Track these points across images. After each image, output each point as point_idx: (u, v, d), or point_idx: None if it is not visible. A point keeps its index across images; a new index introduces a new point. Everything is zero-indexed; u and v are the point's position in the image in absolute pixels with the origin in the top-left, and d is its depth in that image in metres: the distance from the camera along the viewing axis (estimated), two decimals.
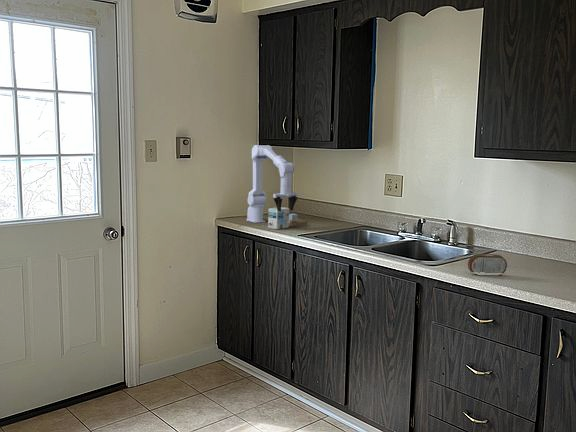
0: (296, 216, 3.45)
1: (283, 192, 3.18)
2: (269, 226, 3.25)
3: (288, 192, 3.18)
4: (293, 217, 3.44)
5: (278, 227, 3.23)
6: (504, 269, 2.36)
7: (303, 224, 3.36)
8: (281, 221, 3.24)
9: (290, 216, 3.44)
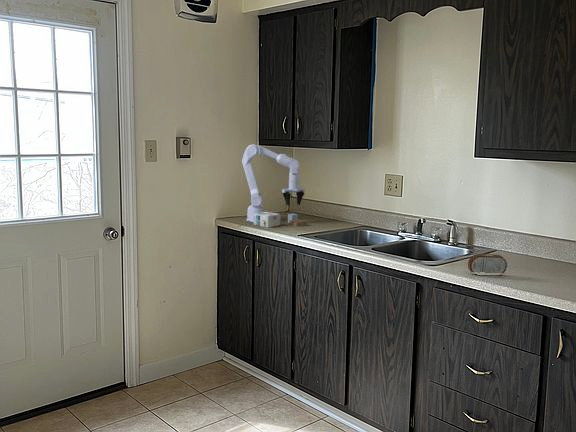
0: (296, 216, 3.45)
1: (291, 187, 3.40)
2: (266, 225, 3.28)
3: (296, 187, 3.40)
4: (293, 217, 3.44)
5: (268, 215, 3.27)
6: (504, 269, 2.36)
7: (303, 224, 3.36)
8: (267, 214, 3.31)
9: (290, 216, 3.44)
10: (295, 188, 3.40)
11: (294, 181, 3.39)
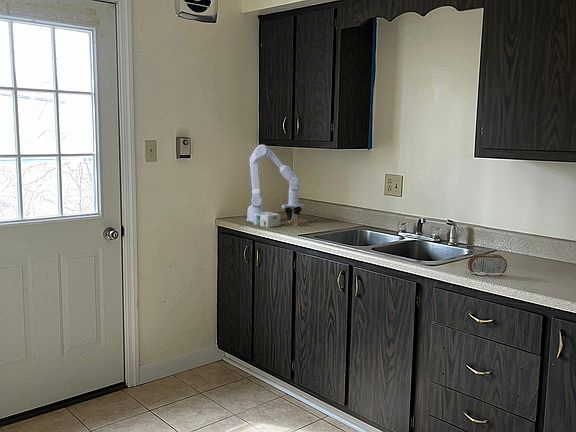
0: (296, 216, 3.45)
1: (291, 203, 3.42)
2: (266, 225, 3.28)
3: (295, 203, 3.42)
4: (293, 217, 3.44)
5: (268, 215, 3.27)
6: (504, 269, 2.36)
7: (303, 224, 3.36)
8: (267, 214, 3.31)
9: None
10: (295, 204, 3.42)
11: (294, 197, 3.41)
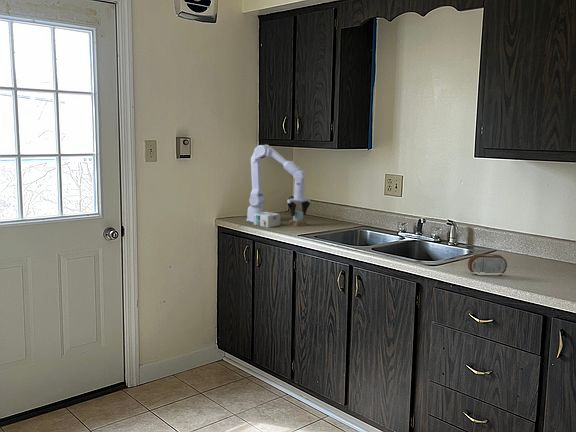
0: (302, 213, 3.37)
1: (297, 198, 3.34)
2: (266, 225, 3.28)
3: (301, 198, 3.34)
4: (298, 214, 3.36)
5: (268, 215, 3.27)
6: (504, 269, 2.36)
7: (303, 224, 3.36)
8: (267, 214, 3.31)
9: (295, 213, 3.37)
10: (300, 198, 3.34)
11: (299, 191, 3.33)
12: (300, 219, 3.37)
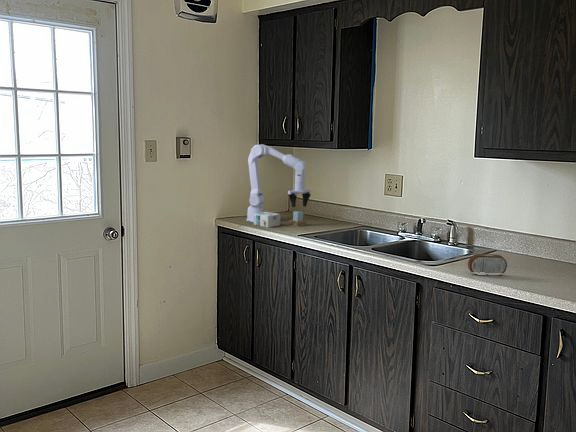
0: (302, 214, 3.37)
1: (297, 189, 3.34)
2: (266, 225, 3.28)
3: (302, 189, 3.34)
4: (299, 215, 3.36)
5: (268, 215, 3.27)
6: (504, 269, 2.36)
7: (303, 224, 3.36)
8: (267, 214, 3.31)
9: (296, 214, 3.36)
10: (301, 190, 3.34)
11: (300, 182, 3.33)
12: (300, 219, 3.37)
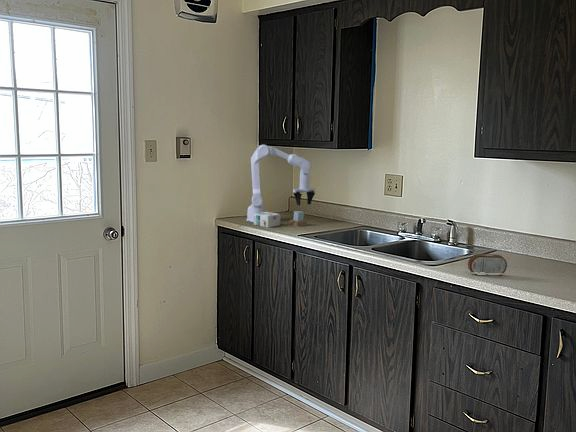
0: (302, 214, 3.37)
1: (302, 187, 3.42)
2: (266, 225, 3.28)
3: (307, 187, 3.43)
4: (299, 214, 3.36)
5: (268, 215, 3.27)
6: (504, 269, 2.36)
7: (303, 224, 3.36)
8: (267, 214, 3.31)
9: (296, 213, 3.36)
10: (306, 188, 3.42)
11: (305, 181, 3.42)
12: (301, 219, 3.37)
